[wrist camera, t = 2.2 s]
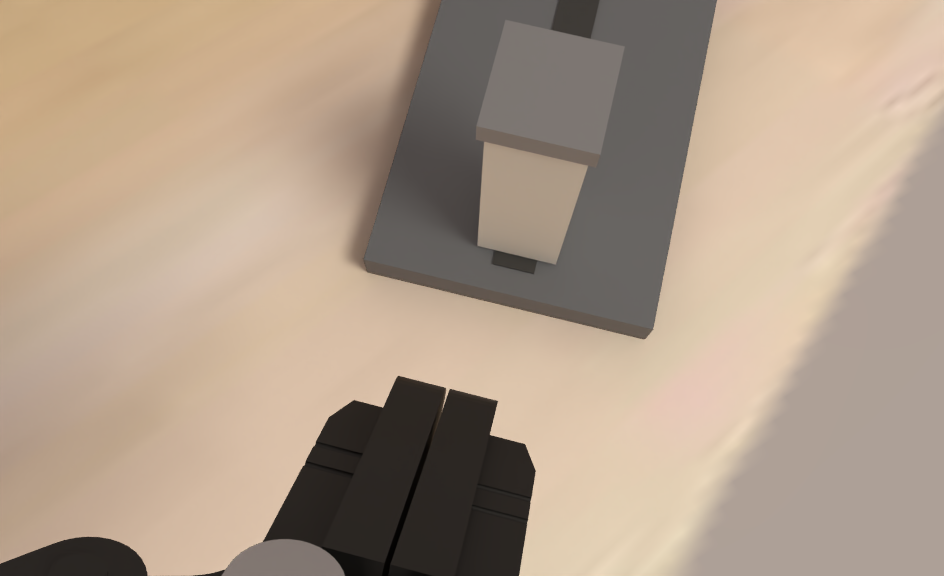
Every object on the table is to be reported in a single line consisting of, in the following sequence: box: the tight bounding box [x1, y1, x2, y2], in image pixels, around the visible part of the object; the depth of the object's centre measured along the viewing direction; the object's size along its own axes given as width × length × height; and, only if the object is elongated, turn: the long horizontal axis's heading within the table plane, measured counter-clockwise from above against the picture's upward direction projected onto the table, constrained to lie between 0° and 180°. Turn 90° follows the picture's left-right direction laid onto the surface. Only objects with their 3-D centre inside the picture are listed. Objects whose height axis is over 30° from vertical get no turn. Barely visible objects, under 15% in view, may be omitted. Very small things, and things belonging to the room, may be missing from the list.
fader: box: [476, 20, 625, 265], centre depth 29 cm, size 3×3×10 cm
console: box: [364, 0, 717, 339], centre depth 36 cm, size 11×24×4 cm, turn 166°
